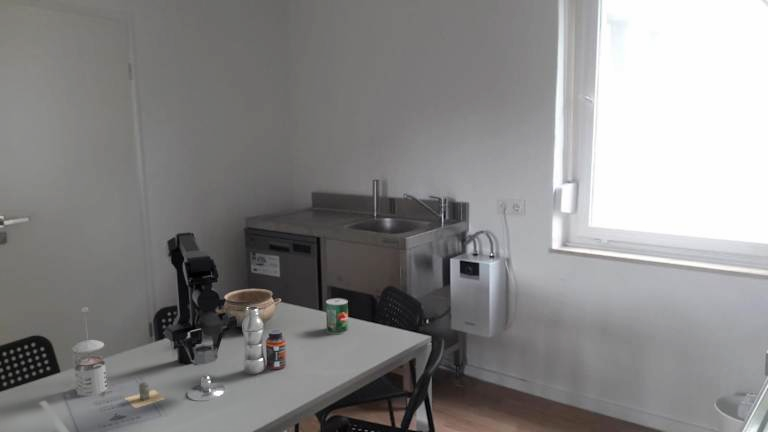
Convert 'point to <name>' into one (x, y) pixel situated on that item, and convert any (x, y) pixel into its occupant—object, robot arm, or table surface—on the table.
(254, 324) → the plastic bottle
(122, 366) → the table surface
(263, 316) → the cooking pot
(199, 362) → the collar
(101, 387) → the french press
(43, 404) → the table surface
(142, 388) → the stand
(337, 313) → the canned tomato
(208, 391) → the disc
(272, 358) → the supplement bottle
